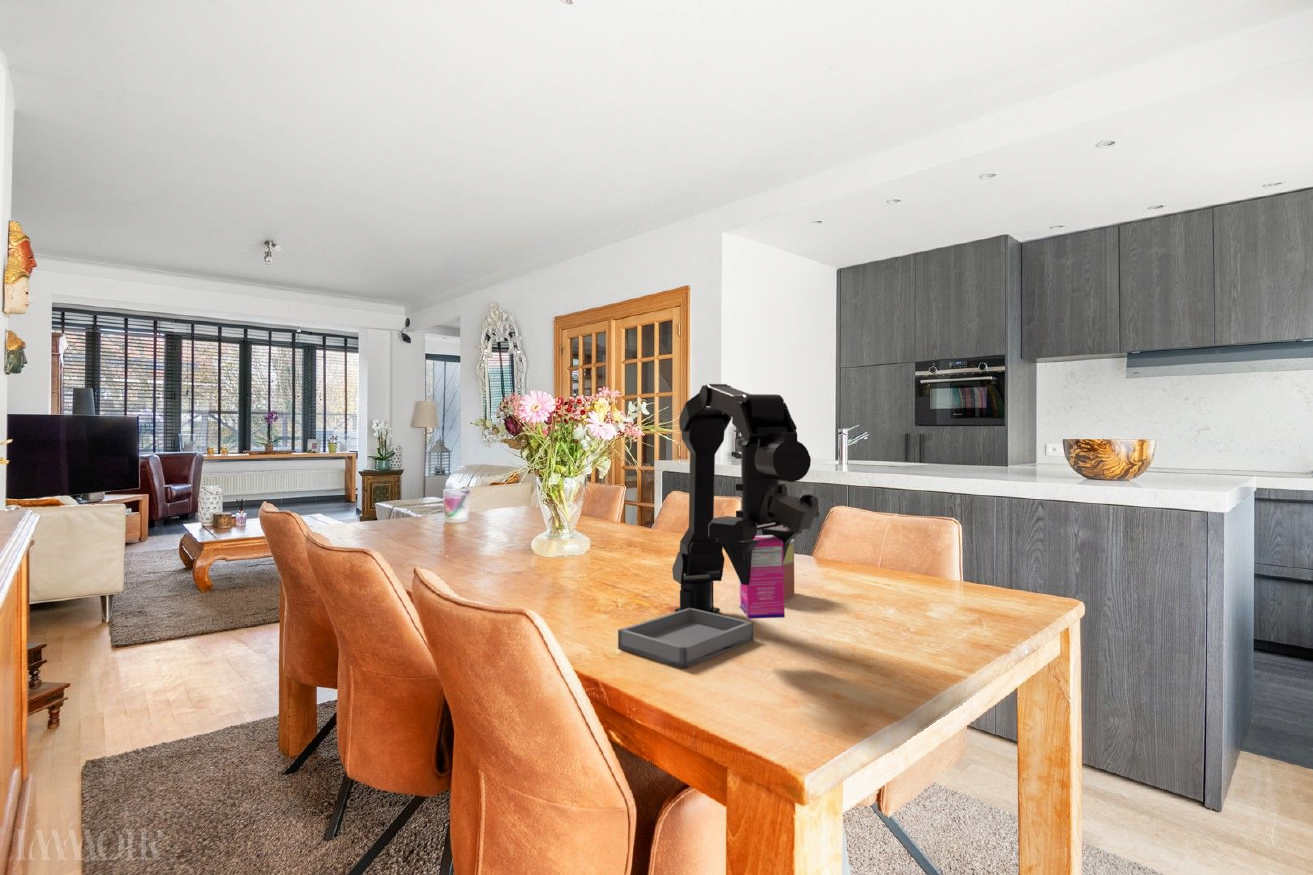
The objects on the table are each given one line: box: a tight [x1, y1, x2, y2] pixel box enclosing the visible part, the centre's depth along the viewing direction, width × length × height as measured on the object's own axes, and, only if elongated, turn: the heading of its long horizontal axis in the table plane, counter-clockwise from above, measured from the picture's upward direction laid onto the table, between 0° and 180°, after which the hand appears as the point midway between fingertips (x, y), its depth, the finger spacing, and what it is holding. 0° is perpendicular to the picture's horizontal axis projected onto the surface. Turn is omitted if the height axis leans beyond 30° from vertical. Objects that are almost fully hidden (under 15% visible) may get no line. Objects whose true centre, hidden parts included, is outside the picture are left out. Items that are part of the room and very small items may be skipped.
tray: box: [617, 608, 755, 670], centre depth 109 cm, size 18×14×3 cm
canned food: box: [757, 534, 796, 602], centre depth 140 cm, size 11×11×12 cm
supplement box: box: [738, 534, 786, 620], centre depth 100 cm, size 6×6×12 cm
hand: (760, 580), depth 100 cm, fingers closed on supplement box, 8 cm apart
